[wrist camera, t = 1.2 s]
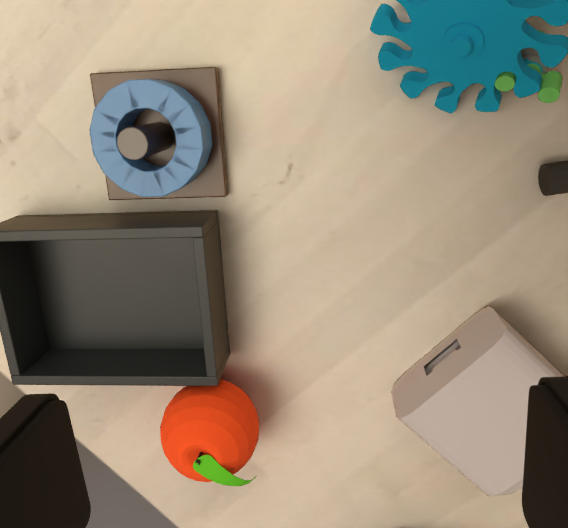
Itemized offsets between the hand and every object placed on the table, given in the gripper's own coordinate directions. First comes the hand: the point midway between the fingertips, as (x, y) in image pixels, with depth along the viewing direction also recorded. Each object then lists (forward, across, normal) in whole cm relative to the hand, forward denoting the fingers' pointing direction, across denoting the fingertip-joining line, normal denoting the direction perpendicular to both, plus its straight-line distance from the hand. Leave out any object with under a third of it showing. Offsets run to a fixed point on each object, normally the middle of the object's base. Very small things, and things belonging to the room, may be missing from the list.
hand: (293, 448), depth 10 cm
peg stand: (+25, +10, -5) cm, 28 cm away
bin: (+26, +14, +5) cm, 30 cm away
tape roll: (+25, +10, -5) cm, 27 cm away
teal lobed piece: (+25, -9, -9) cm, 28 cm away
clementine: (+26, +8, +15) cm, 31 cm away
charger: (+26, -13, +16) cm, 33 cm away
